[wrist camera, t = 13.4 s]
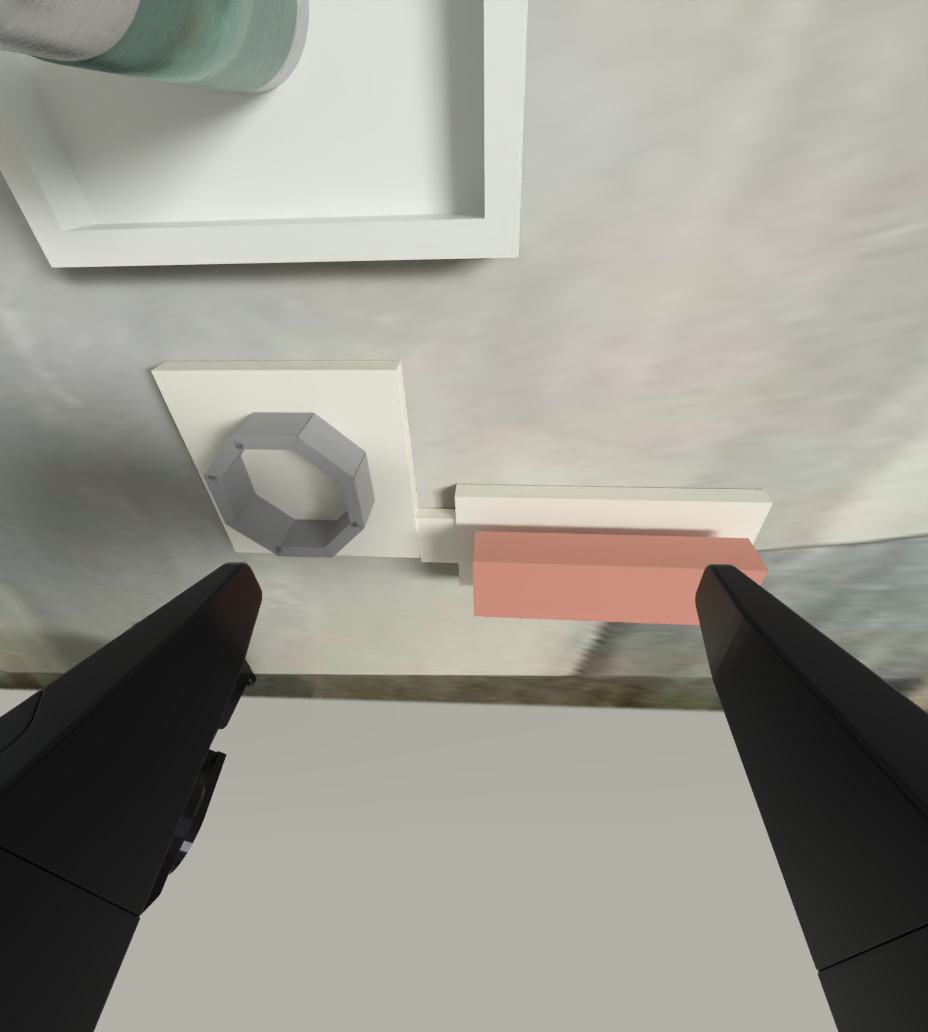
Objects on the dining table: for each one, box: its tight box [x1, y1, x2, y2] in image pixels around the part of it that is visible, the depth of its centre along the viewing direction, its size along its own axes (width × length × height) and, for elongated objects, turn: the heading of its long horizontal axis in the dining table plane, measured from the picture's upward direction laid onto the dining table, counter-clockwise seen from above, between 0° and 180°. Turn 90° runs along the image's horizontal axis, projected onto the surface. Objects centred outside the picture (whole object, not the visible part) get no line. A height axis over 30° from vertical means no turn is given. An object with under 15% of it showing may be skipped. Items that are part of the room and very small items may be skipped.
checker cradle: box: [151, 360, 773, 586], centre depth 21 cm, size 26×12×3 cm, turn 92°
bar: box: [473, 531, 768, 625], centre depth 21 cm, size 12×4×2 cm, turn 92°
